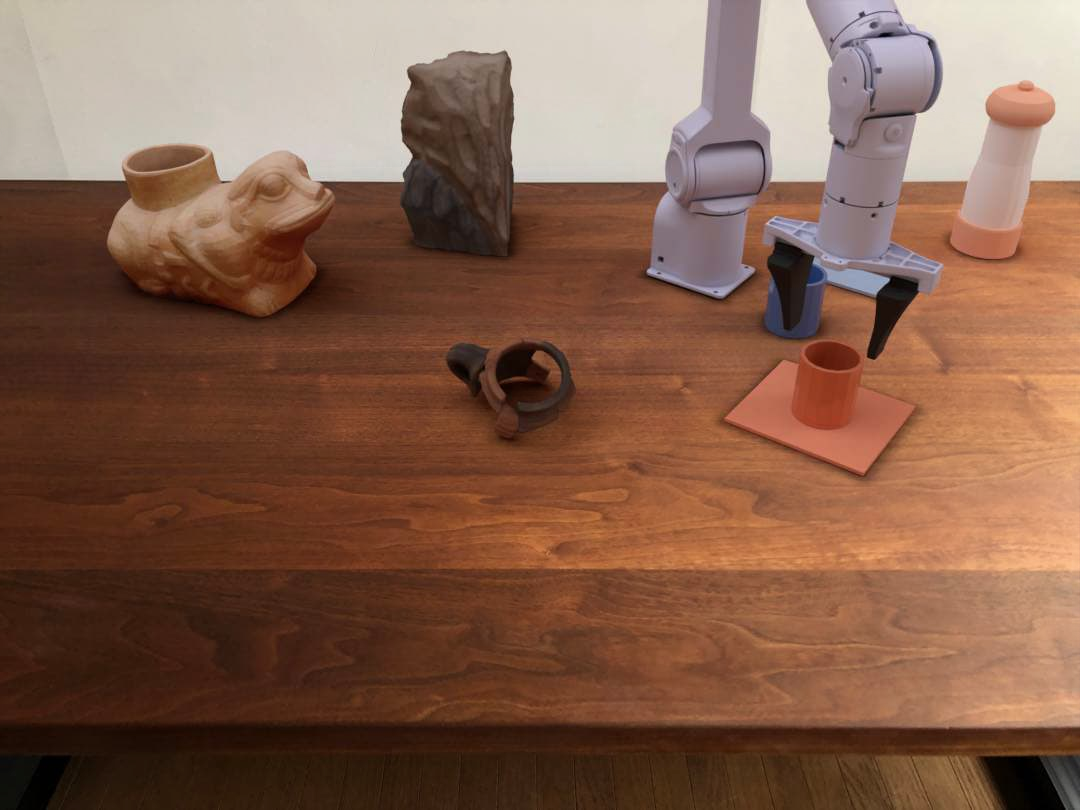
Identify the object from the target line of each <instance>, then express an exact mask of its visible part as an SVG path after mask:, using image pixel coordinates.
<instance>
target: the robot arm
mask: <svg viewBox="0 0 1080 810" xmlns="http://www.w3.org/2000/svg"><path fill="white" fill-rule="evenodd" d="M805 5H806V6H807V9H808V12H809V14H810V16H811V18H812V20H813V23H814V25H815V28H816V29H817V32H818V34H819V37H820V39H821V41H822V43H823V45H824V48H825V49H826V52H827V55H828V57H829V59H830V61H831V63H832V64H831V66H829V67H828V71H827V92H828V99H829V108H830V109H829V117H828V123H827V124H828V125H829V127H828V128H829V129H828V132H829V134H831V136H833V137H832V144H831V149H830V155H829V161H828V166H827V172H826V177H825V178H826V179H825V183H824V189H823V195H822V200H821V205H820V211H819V216H818V217H819V218H818V222H813V221H807V220H798V219H791V218H786V217H783V216H778V215H775V216H773V217H772V218H771V219H770V220H768V221H767V222H765V223H764V228H763V229H764V230H763V236H762V242H761V244H762V245H764V246H768V247H771V248H773V249H772V253H770V255H768V257H766V267H767V269H768V271H769V273H770V276H771V275H772V277H773V280H774V282H775V285H776V288H777V291H778V294H779V298H780V303H781V309H782V317H783V329H785V330H787V331H791V330H792V329H793V328H794V327H795V326H796V325H797V324H798V323H799V322H800V320H801V317H802V313H803V308H804V301H805V293H806V287H807V282H808V278H809V274H810V271H811V267H812V264H813V261H814V257H817V258H819V259H820V265H821V266H823V267H826V268H829V269H832V270H836V271H844V270H845V269H846V268H848V269H856V270H863V271H866V272H869V273H873V274H876V275H879V276H883V277H886V278H889V279H890V281H889V282H888V283H887V284H885V285H884V286H883V287H882V288H881V289H880V290H879V291H878V292H877V295H876V298H875V315H874V323H873V327H872V333H871V336H870V339H869V342H868V346H867V351H866V358H867V359H869V360H871V361H875V360H877V359H878V358H879V356H880V355H881V354H882V353H883V351H884V350H885V347H886V344H887V342H888V340H889V338H890V336H891V334H892V333H893V330H894V328H895V327H896V324H897V323H898V321H899V320H900V318H901V317H902V315H903V314H904V312H905V311H906V310H907V308H908V307H909V306H910V305H911V303H912V302H913V301H914V300H915V298H916V297H917V296H918V295H919V294H920V293H922V294H925V295H928V296H930V295H931V294H932V293H933V292H934V291H935V290H936V288H937V287H938V286H939V285H940V280H941V277H942V272H943V268H944V264H943V263H942V262H938V261H935V260H932V259H929V258H927V257H925V256H922V255H921V254H918V253H917V252H914V251H912V250H910V249H908V248H906V247H905V246H902V245H901V244H899V243H896V242H893V241H892V240H891V235H892V231H893V226H894V221H895V218H896V212H897V209H898V204H899V199H900V196H901V195H900V194H901V190H902V186H903V180H904V176H905V172H906V167H907V164H908V158H909V155H910V149H911V145H912V140H913V136H914V131H915V126H916V122H917V118H918V116H917V114H923V113H926V112H928V111H929V110H930V109H931V108H932V107H933V106H934V105H935V103H936V101H937V100H938V99H939V98H938V97H939V95H940V93H941V89H942V85H943V80H944V65H943V58H942V53H941V50H940V48H939V45H938V42H937V39H936V38H935V37H934V36H933V35H932V34H931V33H929V32H927V31H923V30H919V29H917V27H916V25H915V23H914V24H913V23H907V22H905V20H904V18H903V16H902V14H901V12H900V10H899V8H898V6H897V4H896V2H895V0H805ZM761 6H762V0H707V13H706V28H705V40H704V43H705V44H704V55H703V69H702V83H701V97H700V105H699V106H698V107H697V108H696V109H695V110H693V111H692V112H690V113H689V114H688V115H686V116H684V118H682V119H681V120H680V121H678V122H677V123H676V124H675V125H674V126H673V127H672V132H671V137H670V138H671V139H670V144H669V149H668V152H667V154H666V157H665V165H664V172H665V173H664V174H665V182H666V186H667V190H668V191H666V193H665V194H664V195H663V196H662V197H661V199H660V201H659V203H658V205H657V207H656V210H655V214H654V218H653V227H652V240H651V241H652V242H651V252H650V253H651V255H650V267H649V268H648V269H647V270H646V275H647V276H649V277H652V278H655V279H658V280H661V281H664V282H667V283H669V284H673V285H676V286H679V287H682V288H685V289H688V290H691V291H694V292H697V293H700V294H703V295H706V296H708V297H711V298H715V299H719V300H723V299H724V298H726V297H727V296H728V295H729V294H730V293H732V292H733V291H734V290H735V289H737V288H738V287H739V286H740V285H741V284H742V283H744V282H745V281H747V279H748V278H750V277H751V276H752V275H754V274H755V273H756V269H755V267H754V266H751V265H747V264H744V263H742V262H743V257H744V255H743V254H744V249H745V248H744V247H745V242H746V241H745V240H746V233H747V225H748V224H747V223H748V216H749V209H750V207H753V206H756V204H757V203H756V202H757V197H759V196H762V195H763V194H764V193H765V192H766V191H767V189H768V187H769V185H770V183H771V180H772V176H773V158H772V157H773V156H772V152H771V130H770V128H769V127H768V125H767V124H766V123H765V121H763V120H762V119H761V118H760V117H759V116H757V115H756V114H755V113H754V112H752V101H753V91H754V81H755V80H754V79H755V69H756V60H757V59H756V57H757V49H758V40H759V39H758V38H759V28H760V18H761V8H762V7H761Z"/></svg>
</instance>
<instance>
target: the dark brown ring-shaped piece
mask: <svg viewBox="0 0 1080 810" xmlns="http://www.w3.org/2000/svg"><path fill="white" fill-rule="evenodd" d="M538 351H539V352H543V353H545V354H546V355H548V356H550V357H551V359H553V360H554V361H555V363H556V364H557V366H558V369H559V371H560V375H561V378H560V379H561V380H560V384H559V387H558V389H557V390H556V391H555V393H554V394H552V395H551V396H550V397H548V398H546V399H544V400H541V401H537V402H522V401H516V406H517V409H516V408H515V407H512V406H510V405H509V404H508V403H507V402H506V398H507V394H506V392H505V391H504V390H503V389H502V388H501V386H500V384H499V383H501V382H503V381H505V380H509V379H512V378H513V379H514V378H526V379H529V380H532V381H535V382H537V383H539V384H540V385H546V383H547V380H548V377H549V375H550V374H551V369H550V368H549V367H547V366H545V365H543V364H541V363H540V362H538V361H536V360H535V359H533V357H534V355H535V353H536V352H538ZM444 359H445V362H446V365H447V367H448V369H449V370H450V372H451V373H452V374H453V375H454V376H455V377H456V378H458V379H459V380H460V381H461V382H463V383H464V384H465V385H466V386H467V387H468V389H469V392H470V394H471V396H472V397H473V398H477V397H478V396H479V394H480V392H481V391H482V392H483V393H484V396H485V398H486V400H487V402H488V404H489V406H490V407H491V408H492V409H493V410H494V412H495V413H496V414H498V417H497V421H496V422H495V424H494V425H493V429H494V432H495V433H496V434H497V435H499V436H501V437H503V438H506V439H511V438H513V437H515V436H516V434H517V433H518V434H525V433H529V432H532V431H535V430H538V429H540V428H543V427H546V426H548V425H550V424H551V423H553V422H556V421H557V420H558V419H559V418H560V415H559V413H565V412H566V411H567V409H568V408H569V405H570V403H571V401H572V398H573V397H574V396H575V395H576V394H577V392H578V390H577V387H576V384H575V382H574V380H573V379H572V373H571V366H570V364H569V361H568V359H567V357H566V355H565V353H564V352H563V351H561V350H560V349H559V348H558V347H557V346H556V345H554V344H552V343H551V342H549V341H546V340H545V341H544V340H543V339H541V338H538V337H531V336H522V337H515V338H514V337H513V338H512V339H511V338H510V339H508V340H506V341H504V342H502V343H500V344H497V345H495V346H494V347H491V348H486V347H482V346H479V345H477V344H475V343H467V342H459V343H455V344H454V345H452V346H451V347H450V348H449V350H448V351H447V354H446V356H445V358H444Z"/></svg>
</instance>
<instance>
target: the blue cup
mask: <svg viewBox="0 0 1080 810" xmlns="http://www.w3.org/2000/svg"><path fill="white" fill-rule="evenodd" d="M827 275H828V274H827V272H826V271H825V270H824V269H823V268H822V267H820V266H818V265H816V264H814V263H813V264H812V267H811V271H810V274H809V278H808V282H807V287H806V293H805V301H804V308H803V313H802V317H801V320H800V322H799V323H798V324H797V325H796V326H795V327H794V328H793V329H792V330H791V331H787V330H785V329H783V317H782V309H781V303H780V298H779V294H778V291H777V288H776V285H775V282H774V280H773V277H772V275H771V274H770V280H769V286H768V293H767V299H766V307H765V314H764V319H763V323H764V326H765V328H766V329H767V330H768V331H769V332H771V333H772V334H774V335H776V336H779V337H782V338H786V339H793V340H794V339H795V340H796V339H798V340H799V339H800V340H801V339H806V338H810V337H812V336H813V335H815V334H816V333H817V332H818V330H819V326H820V321H821V316H822V311H823V305H824V299H825V295H826V289H827V284H828V283H827Z"/></svg>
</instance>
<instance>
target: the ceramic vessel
mask: <svg viewBox="0 0 1080 810" xmlns="http://www.w3.org/2000/svg"><path fill="white" fill-rule="evenodd" d="M121 170H122V173H123V176H124V180H125V183H126V184H127V187H128V189H129V193H130V197H131V198H129V199H128V200H127V201H126V202H125V203H124V204H123V205H122V207H120V209H119V210H118V211H117V213H116V215H115V217H114V219H113V222H112V225H111V227H110V230H109V232H108V236H107V238H106V239H107V240H106V245H107V246H106V247H107V250H108V252H109V254H110V256H111V258H112V259H114V260H115V263H116V264H117V265H118V267H119V268H120V269H121V270H122V272H124V274H126V275H127V276H128V277H129V278H130V279H131V280H132V282H134V283H135V285H136V286H137V287H138V289H139V290H140V291H142V292H144V293H147V294H149V295H151V296H152V297H153V296H154V297H155V298H160V299H172V300H175V301H176V300H177V301H179V302H196V303H197V304H201V305H214V306H216V307H220V308H222V309H227V310H230V311H234V312H237V313H241V314H244V315H246V316H249V317H252V318H265V317H269V316H271V315H274V314H275V313H276V312H278V311H279V310H282V309H283V308H284V307H286V306H288V305H289V304H290V303H291V302H293V301H294V300H295V299H297V298H298V297H299V296H300V295H301V294H303V292H304V290H306V289H307V287H308V286H309V284H311V282H312V281H313V280H314V279H315V278H316V275H317V273H318V272H317V270H318V269H317V265H316V264H315V262H313V260H312V259H311V258H310V257H309V255H308V254H307V252H306V251H305V249H304V245H305V242H306V240H307V238H308V236H309V235H312V234H313V233H315V232H317V231H319V230H320V229H321V227H323V224H324V222H325V221H326V220H327V218H328V216H329V215H330V213H331V211H332V210H333V207H334V205H335V202H336V197H335V194H334V193H333V192H332V190H331V189H329V188H326V187H325V186H324V185H323V184H322V183H321V182H318V181H314V180H312V179H311V177H310V175H309V170H308V167H307V165H306V162H305V161H304V160H303V159H302V158H301V157H300V156H298V155H297V154H295V153H293V152H291V151H290V150H285V149H283V150H282V149H281V150H276V151H272V152H271V153H268V154H266V155H264V156H262V157H261V158H259V159H257V160H255V161H254V162H253V163H251V164H250V165H248V166H247V167H246V168H245V169H244V170H243V171H241V173H240V174H239V175H238V176H236V178H234V179H233V180H231V181H230V182H222V181H221V180H222V179H220V176H219V174H218V169H217V165H216V162H215V156H214V153H213V151H212V150H211V149H210V148H209V147H207V146H205V145H200V144H196V143H195V144H194V143H183V142H173V143H172V142H171V143H164V144H155V145H154V144H153V145H149V146H145V147H142V148H140V149H136V150H135V151H133V152H131V153H130V154H127V155H126V156H125V157H124V158H123V160H122V162H121Z"/></svg>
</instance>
